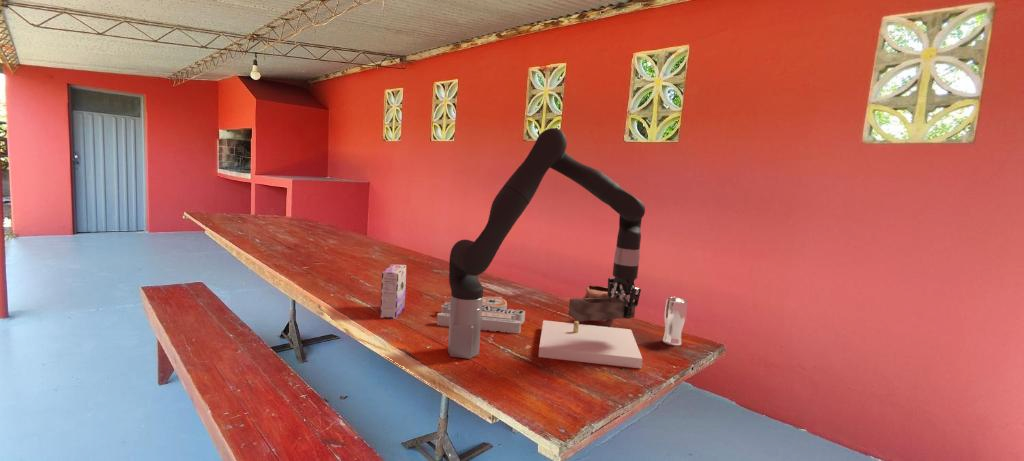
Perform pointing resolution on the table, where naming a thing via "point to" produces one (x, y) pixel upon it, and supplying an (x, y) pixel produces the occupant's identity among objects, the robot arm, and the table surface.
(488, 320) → the sign
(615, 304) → the frame
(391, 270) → the candy box
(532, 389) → the table surface
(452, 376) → the table surface
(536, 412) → the table surface
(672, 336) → the beer glass
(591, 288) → the decorative planter
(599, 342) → the wall plate
